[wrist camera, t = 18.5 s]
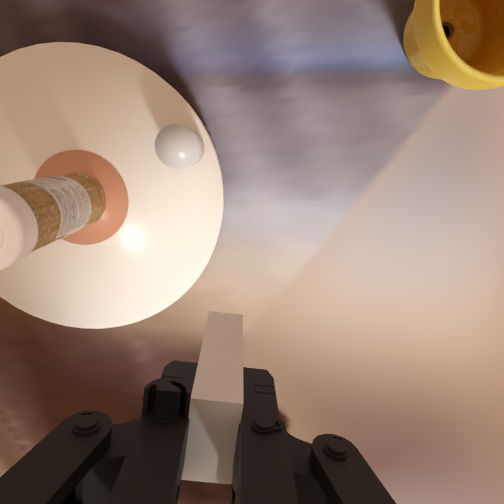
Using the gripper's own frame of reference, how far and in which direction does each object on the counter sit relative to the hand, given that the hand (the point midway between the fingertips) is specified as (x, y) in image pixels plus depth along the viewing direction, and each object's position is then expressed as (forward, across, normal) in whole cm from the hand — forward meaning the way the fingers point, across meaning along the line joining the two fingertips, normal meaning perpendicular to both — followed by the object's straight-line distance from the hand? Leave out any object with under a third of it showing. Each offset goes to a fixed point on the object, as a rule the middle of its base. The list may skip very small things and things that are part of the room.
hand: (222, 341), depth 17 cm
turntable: (+20, +13, -3) cm, 24 cm away
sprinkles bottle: (+17, +13, -3) cm, 22 cm away
